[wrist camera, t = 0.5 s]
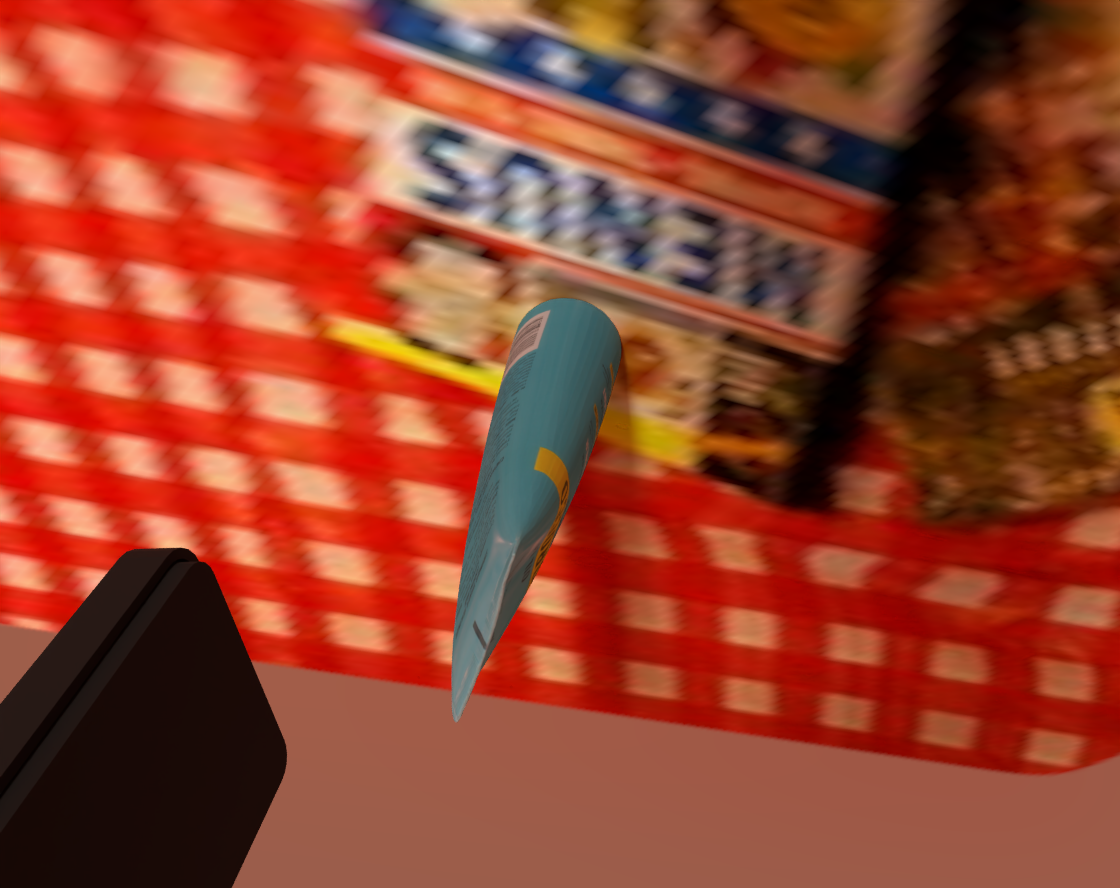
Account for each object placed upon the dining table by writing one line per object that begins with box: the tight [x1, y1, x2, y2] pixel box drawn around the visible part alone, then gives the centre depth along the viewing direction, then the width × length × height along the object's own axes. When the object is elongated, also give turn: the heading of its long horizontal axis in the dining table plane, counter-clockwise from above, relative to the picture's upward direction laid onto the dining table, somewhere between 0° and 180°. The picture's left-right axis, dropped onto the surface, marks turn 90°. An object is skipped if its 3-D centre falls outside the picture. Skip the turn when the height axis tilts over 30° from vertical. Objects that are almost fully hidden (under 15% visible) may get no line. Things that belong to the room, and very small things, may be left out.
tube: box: [452, 298, 621, 722], centre depth 38 cm, size 7×5×19 cm, turn 167°
